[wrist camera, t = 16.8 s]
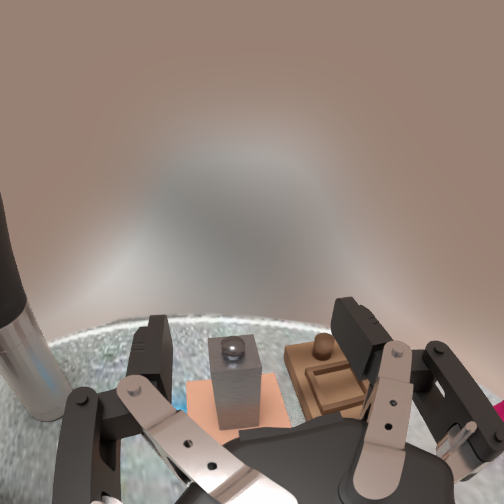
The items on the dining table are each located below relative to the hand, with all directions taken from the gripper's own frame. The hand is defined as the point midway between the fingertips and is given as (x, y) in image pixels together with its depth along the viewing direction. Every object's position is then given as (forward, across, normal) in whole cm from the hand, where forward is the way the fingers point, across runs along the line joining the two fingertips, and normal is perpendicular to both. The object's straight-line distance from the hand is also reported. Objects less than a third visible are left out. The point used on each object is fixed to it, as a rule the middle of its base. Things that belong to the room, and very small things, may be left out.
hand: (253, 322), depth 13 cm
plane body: (+11, -14, +26) cm, 32 cm away
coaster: (+11, 0, +26) cm, 28 cm away
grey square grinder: (+11, 0, +25) cm, 27 cm away
